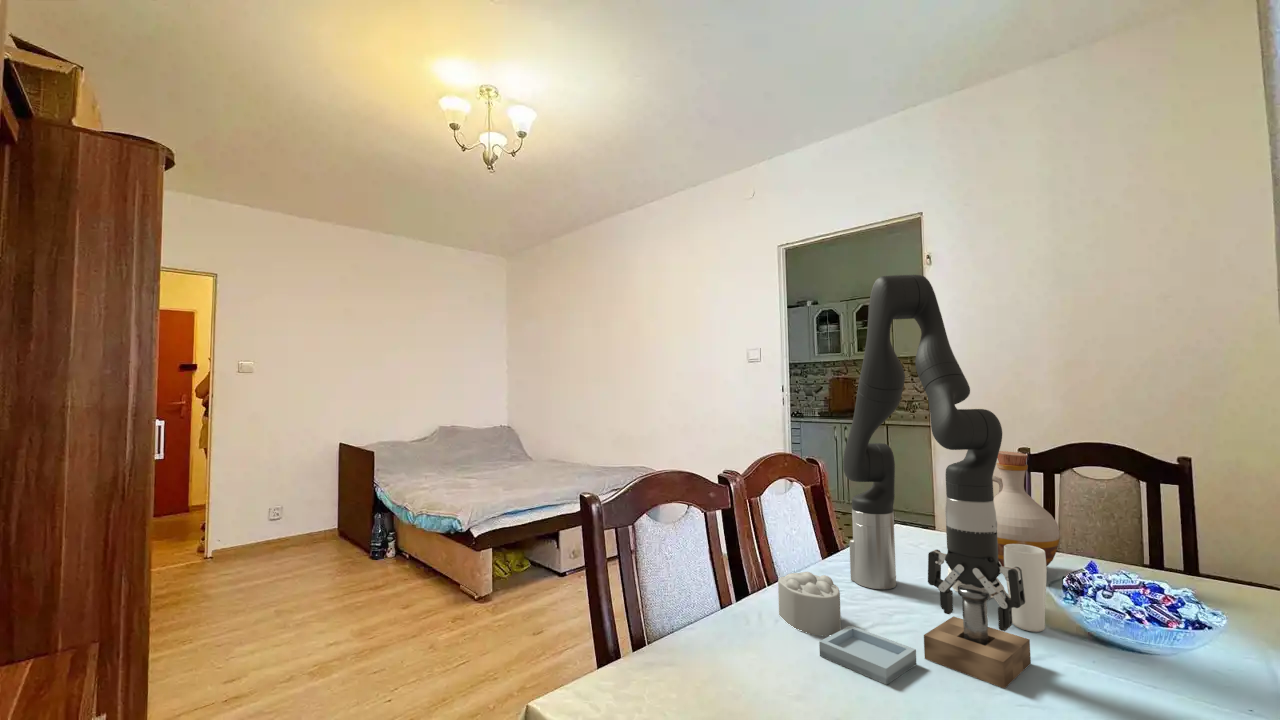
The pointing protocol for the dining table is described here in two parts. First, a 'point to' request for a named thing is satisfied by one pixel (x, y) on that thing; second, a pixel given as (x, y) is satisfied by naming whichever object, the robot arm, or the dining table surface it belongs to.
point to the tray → (868, 654)
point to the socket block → (978, 653)
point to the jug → (1021, 510)
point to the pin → (975, 613)
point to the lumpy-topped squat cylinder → (810, 603)
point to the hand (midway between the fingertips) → (975, 620)
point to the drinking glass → (1029, 585)
